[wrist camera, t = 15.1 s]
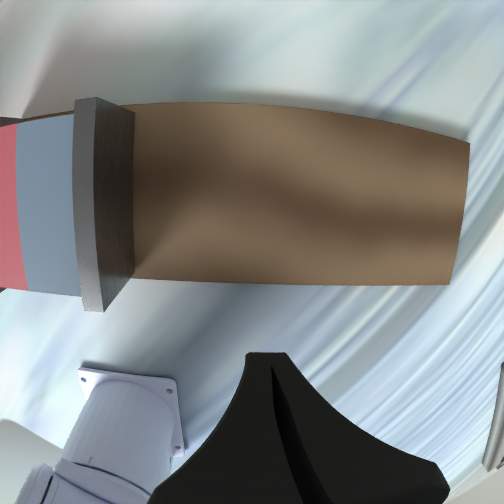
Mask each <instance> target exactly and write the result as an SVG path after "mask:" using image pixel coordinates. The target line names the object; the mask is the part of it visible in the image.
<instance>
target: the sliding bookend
mask: <svg viewBox="0 0 504 504" xmlns="http://www.w3.org/2000/svg"><path fill="white" fill-rule="evenodd" d="M134 124H135V112H133V111H130V110H128V109H125V108H123V107H120V106H118V105H115V104H113V103H110V102H108V101H105V100H103V99H100V98H98V97H94V98H86V99H79V100H75V109H74V123H73V145H72V195H73V217H74V232H75V244H76V254H77V263H78V272H79V279H80V287H81V293H82V300H83V306H84V311H93V312H103V313H104V312H105V310H106V309H107V308H108V306H109V305H110V304H111V302H112V301H113V300H114V298H115V297H116V296H117V295H118V293H119V292H120V291H121V289H122V288H123V287H124V286H125V284H126V283H127V282H128V281H129V279H130V278H131V277H132V276H133V274H134V273H135V272H136V271H135V254H134V233H133V145H134Z"/></svg>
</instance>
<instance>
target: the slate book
mask: <svg viewBox="0 0 504 504" xmlns="http://www.w3.org/2000/svg"><path fill="white" fill-rule="evenodd" d="M73 123H74V114H69V115H62V116H56V117H49V118H43V119H38V120H32V121H27V122H22V123H17V134H16V194H17V211H18V223H19V233H20V242H21V249H22V257H23V263H24V270H25V275H26V281H27V286H28V291H34V292H43V293H51V294H61V295H70V296H80V297H82V293H81V287H80V279H79V272H78V263H77V254H76V244H75V232H74V217H73V195H72V145H73Z"/></svg>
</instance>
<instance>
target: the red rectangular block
mask: <svg viewBox="0 0 504 504" xmlns="http://www.w3.org/2000/svg"><path fill="white" fill-rule="evenodd" d="M16 134H17V124H12V125H7V126H3V127H0V287H4V288H11V289H19V290H27V291H28V286H27V281H26V275H25V270H24V263H23V257H22V249H21V242H20V233H19V223H18V211H17V194H16Z"/></svg>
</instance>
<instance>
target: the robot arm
mask: <svg viewBox="0 0 504 504" xmlns="http://www.w3.org/2000/svg"><path fill="white" fill-rule="evenodd" d="M77 375H78V378H79V382H80V385H81V388H82V391H83V394H84V397H85V400H86V403H85V405H84V407H83V409H82V411H81V413H80V415H79V417H78V419H77V421H76V423H75V425H74V427H73V429H72V432H71V434H70V436H69V438H68V440H67V442H66V444H65V446H64V448H63V451H62V453H61V455H60V457H59V459H58V462H57V464H56V465H55V467H54V468H53V469H52V467H51V466H49V465H48V464H46V463H43V464H42V465H34V466H33V467H32V469H31V471H30V473H29V475H28V477H27V479H26V481H25V483H24V485H23V487H22V489H21V491H20V493H19V495H18V497H17V500H16V502H15V504H442V503H443V502H444V501H445V500H446V498H447V497H448V495H449V492H450V487H449V485H448V483H447V481H446V479H445V477H444V476H443V474H442V472H441V470H440V469H439V467H438V466H437V464H436V463H434V462H431V461H428V460H425V459H422V458H419V457H417V456H414V455H411V454H408V453H406V452H403V451H401V450H399V449H397V448H395V447H392V446H390V445H388V444H386V443H384V442H382V441H381V440H379V439H377V438H375V437H374V436H372V435H370V434H369V433H367V432H365V431H364V430H362V429H361V428H359V427H358V426H356V425H355V424H353V423H352V422H351V421H349V420H348V419H347V418H345V417H344V416H343V415H342V414H340V413H339V412H338V411H337V410H336V409H335V408H333V407H332V406H331V405H330V404H329V403H328V402H327V401H326V400H325V399H324V398H323V397H322V396H321V395H320V394H319V393H318V392H317V391H316V390H315V388H314V387H313V386H312V385H311V384H310V383H309V382H308V381H307V379H306V378H305V377H304V376H303V375H302V373H301V372H300V371H299V370H298V368H297V367H296V366H295V364H294V363H293V362H292V360H291V359H290V358H289V356H288V355H287V354H286V353H285V352H284V353H261V352H249V353H248V354H246V356H245V367H244V371H243V374H242V377H241V380H240V383H239V385H238V388H237V390H236V392H235V394H234V396H233V398H232V400H231V402H230V404H229V406H228V408H227V410H226V412H225V413H224V415H223V417H222V418H221V420H220V421H219V423H218V424H217V426H216V427H215V429H214V430H213V431H212V433H211V434H210V435H209V437H208V438H207V439H206V440H205V442H204V443H203V444H202V445H201V446H200V448H199V449H198V450H197V451H196V452H195V453H194V454H193V455H192V456H191V457H190V458H189V459H188V460H187V461H186V462H185V463H184V464H183V465H182V466H181V467H180V468H179V469H178V470H177V471H175V472H174V473H173V474H172V475H171V476H170V474H171V468H172V461H173V456H177V457H182V456H184V455H185V448H184V442H183V435H182V427H181V420H180V412H179V404H178V395H177V386H176V382H175V381H174V380H173V379H170V378H160V377H149V376H140V375H132V374H124V373H116V372H109V371H102V370H96V369H90V368H84V367H80V368H79V369H78V371H77ZM83 377H84V378H85V379H84V378H83ZM168 389H171V390H172V391H170V390H168Z"/></svg>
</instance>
